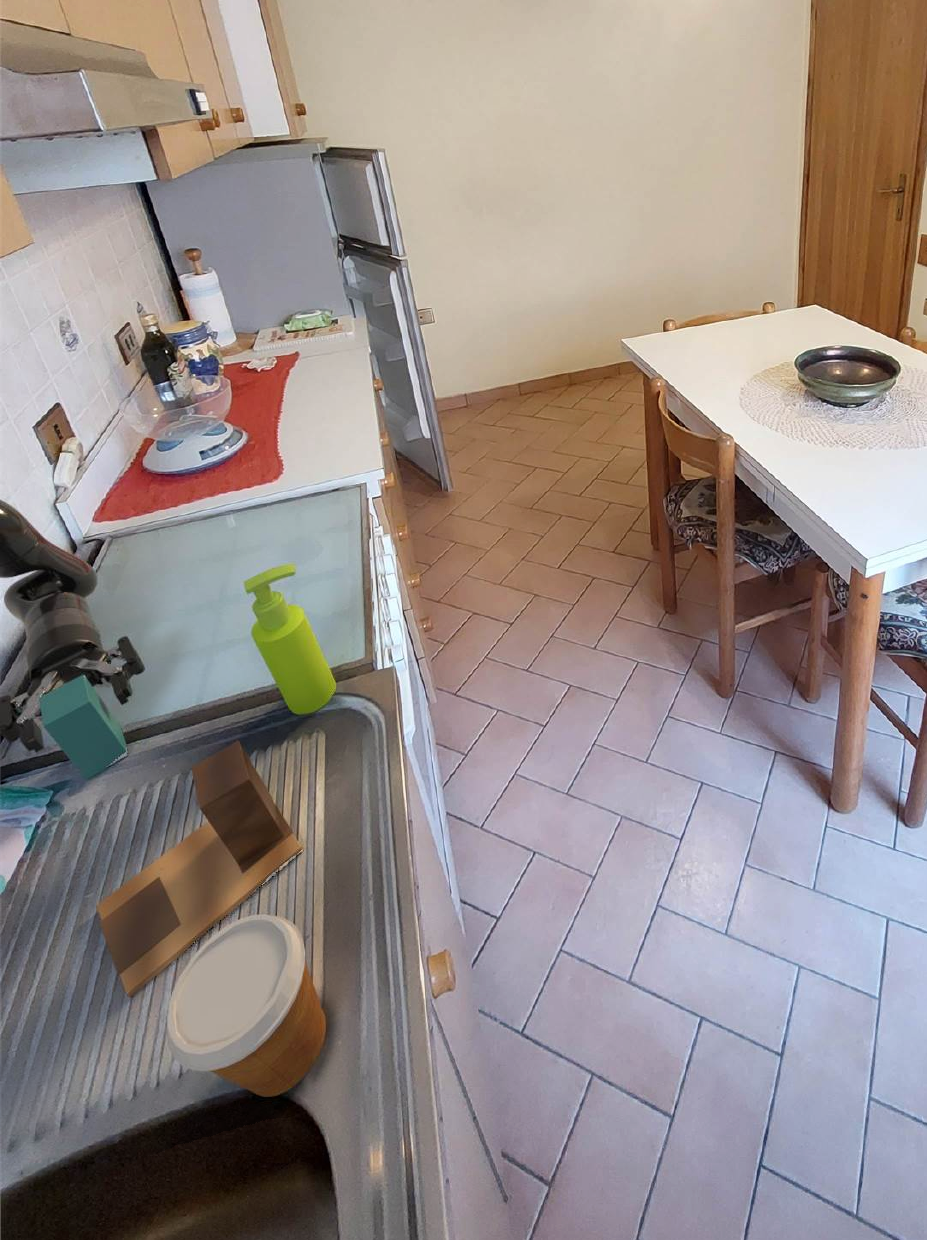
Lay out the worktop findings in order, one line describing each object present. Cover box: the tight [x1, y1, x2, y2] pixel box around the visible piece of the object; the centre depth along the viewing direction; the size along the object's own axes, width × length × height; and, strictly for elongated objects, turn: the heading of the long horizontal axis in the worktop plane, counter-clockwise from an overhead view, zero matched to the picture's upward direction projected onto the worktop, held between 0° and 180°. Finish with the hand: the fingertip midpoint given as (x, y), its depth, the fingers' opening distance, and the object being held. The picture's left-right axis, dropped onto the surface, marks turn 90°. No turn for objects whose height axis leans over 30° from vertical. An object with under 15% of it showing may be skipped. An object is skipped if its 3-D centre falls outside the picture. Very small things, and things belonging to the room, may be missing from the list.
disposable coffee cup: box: [166, 914, 327, 1098], centre depth 54 cm, size 10×10×12 cm
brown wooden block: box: [190, 740, 284, 865], centre depth 70 cm, size 4×6×10 cm
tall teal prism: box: [39, 675, 127, 781], centre depth 81 cm, size 4×6×10 cm
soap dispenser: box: [243, 563, 337, 716], centre depth 84 cm, size 6×7×20 cm
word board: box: [95, 802, 303, 998], centre depth 69 cm, size 16×11×1 cm
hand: (80, 721), depth 81 cm, fingers open, 8 cm apart
